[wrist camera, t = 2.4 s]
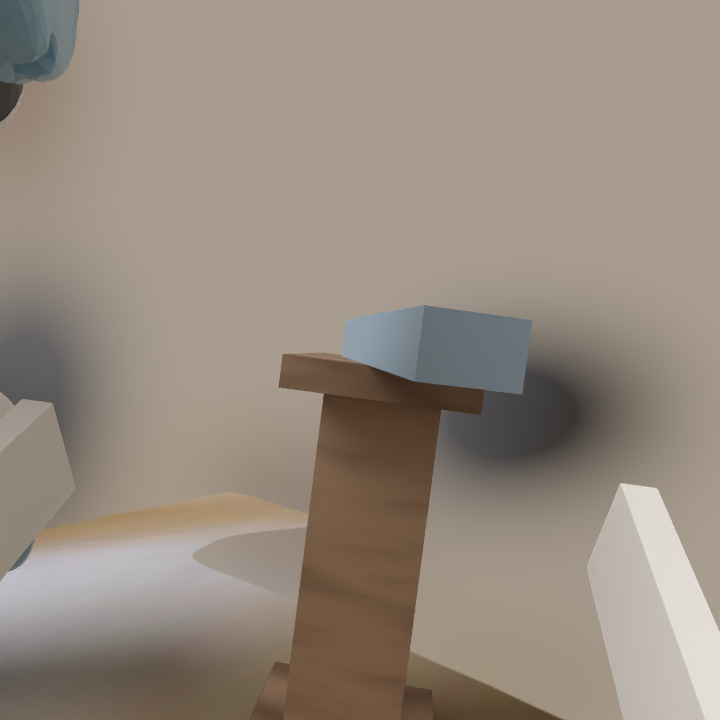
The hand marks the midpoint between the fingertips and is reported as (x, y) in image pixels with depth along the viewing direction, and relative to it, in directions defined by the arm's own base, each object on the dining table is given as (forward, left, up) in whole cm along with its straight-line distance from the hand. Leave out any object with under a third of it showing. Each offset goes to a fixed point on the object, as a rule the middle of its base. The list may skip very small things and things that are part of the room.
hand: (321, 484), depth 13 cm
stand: (-18, +21, -28) cm, 39 cm away
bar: (-13, +17, +2) cm, 21 cm away
